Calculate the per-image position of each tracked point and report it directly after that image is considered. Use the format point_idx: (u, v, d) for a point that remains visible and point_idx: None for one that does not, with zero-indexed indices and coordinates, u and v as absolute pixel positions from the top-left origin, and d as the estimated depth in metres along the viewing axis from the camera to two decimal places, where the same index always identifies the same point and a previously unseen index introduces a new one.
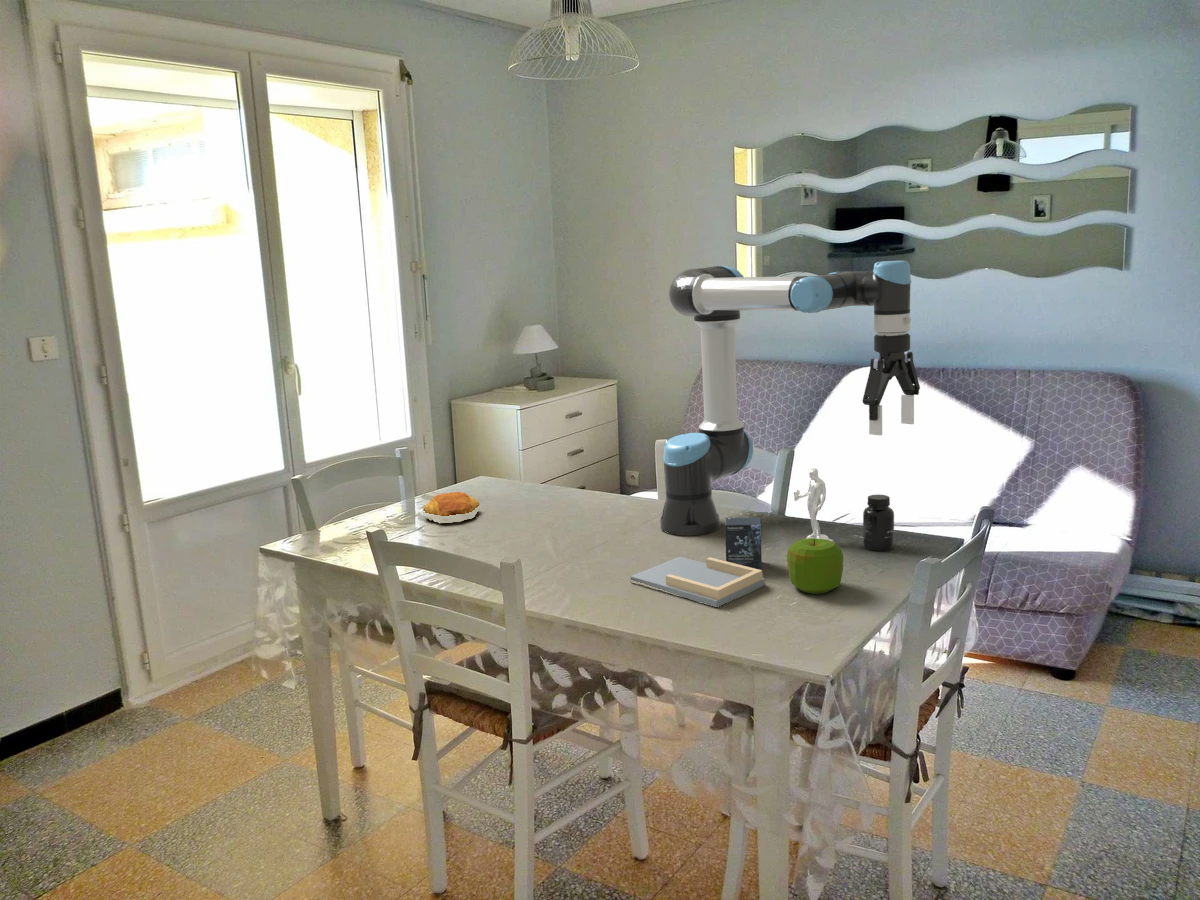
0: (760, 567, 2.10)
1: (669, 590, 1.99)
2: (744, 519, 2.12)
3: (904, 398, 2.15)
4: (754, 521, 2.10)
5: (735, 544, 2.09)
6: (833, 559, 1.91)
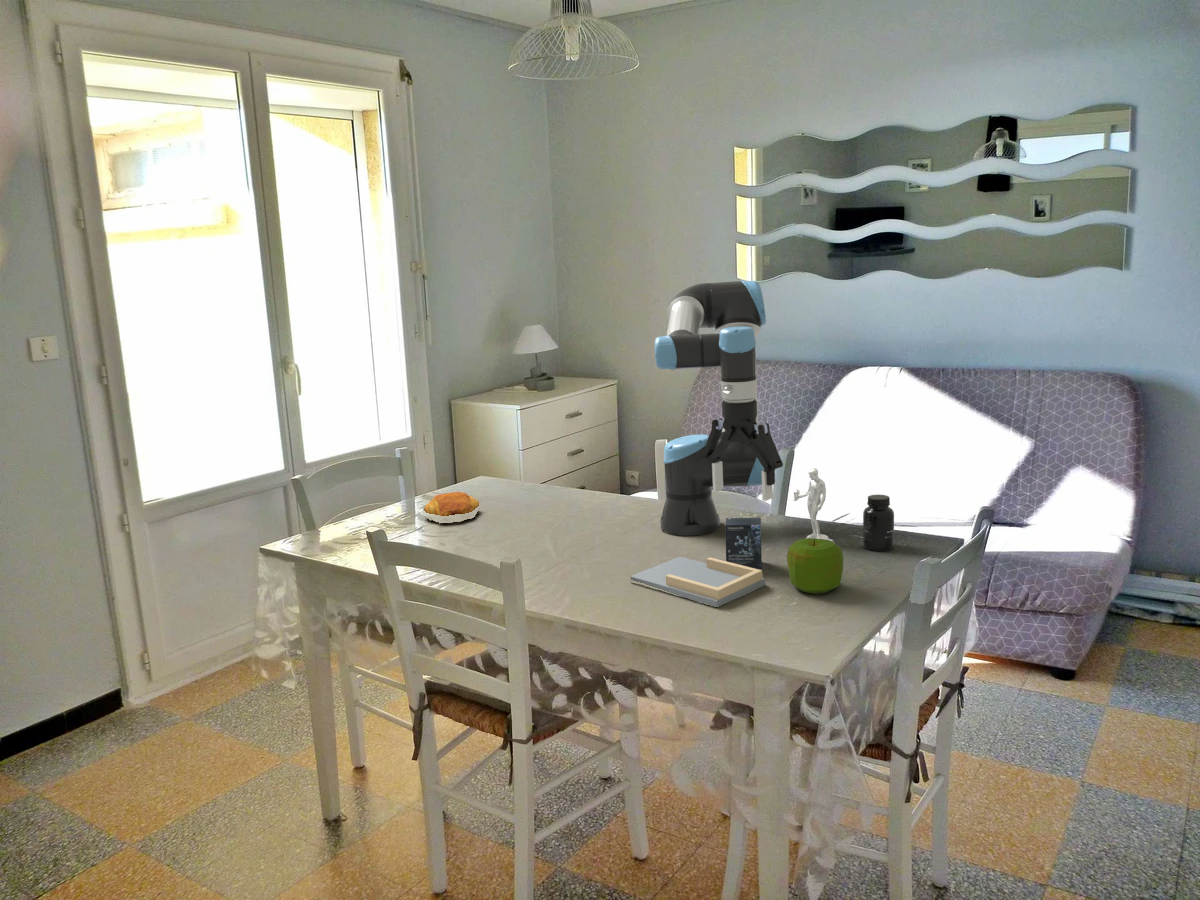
0: (760, 567, 2.10)
1: (669, 590, 1.99)
2: (744, 519, 2.12)
3: None
4: (754, 522, 2.10)
5: (735, 544, 2.09)
6: (833, 559, 1.91)
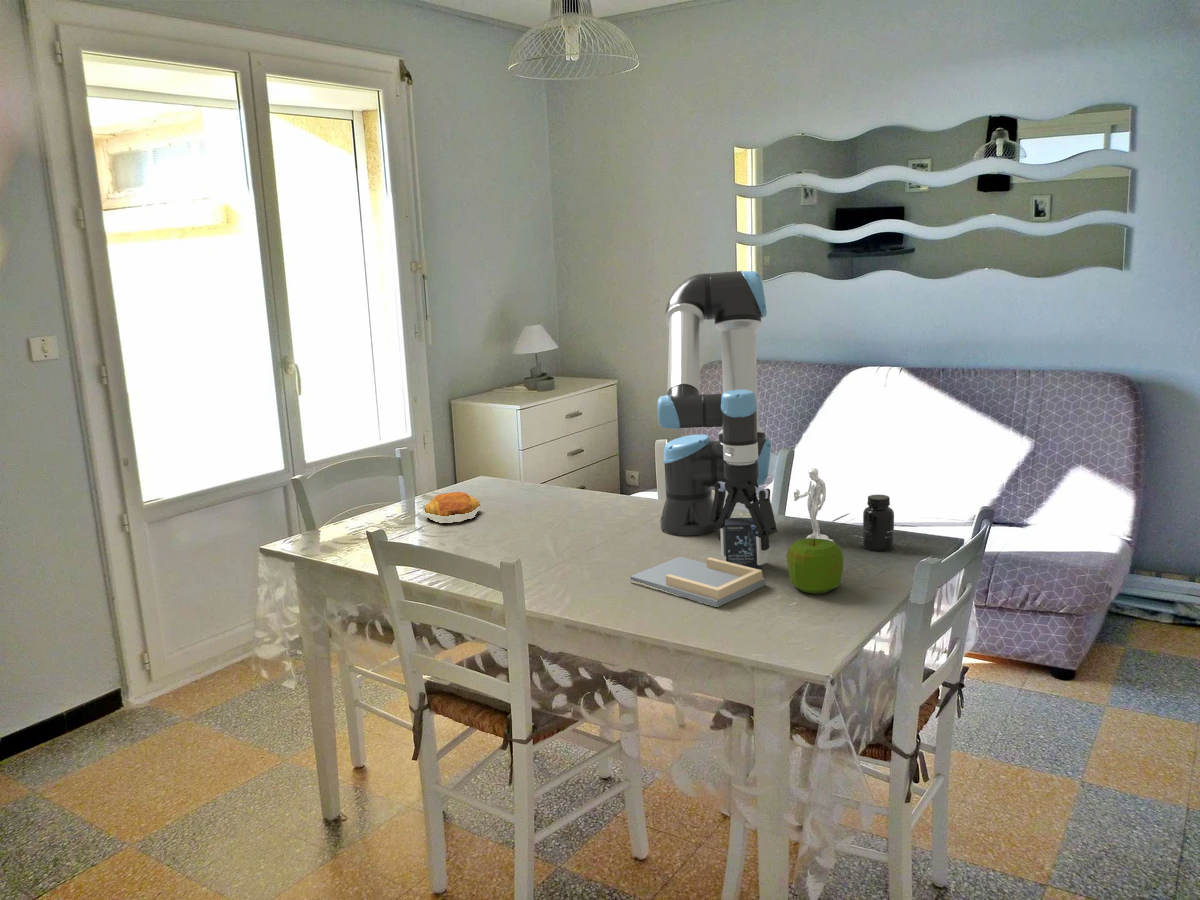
0: (760, 567, 2.10)
1: (669, 590, 1.99)
2: (744, 519, 2.12)
3: None
4: (753, 521, 2.10)
5: (735, 544, 2.09)
6: (833, 559, 1.91)
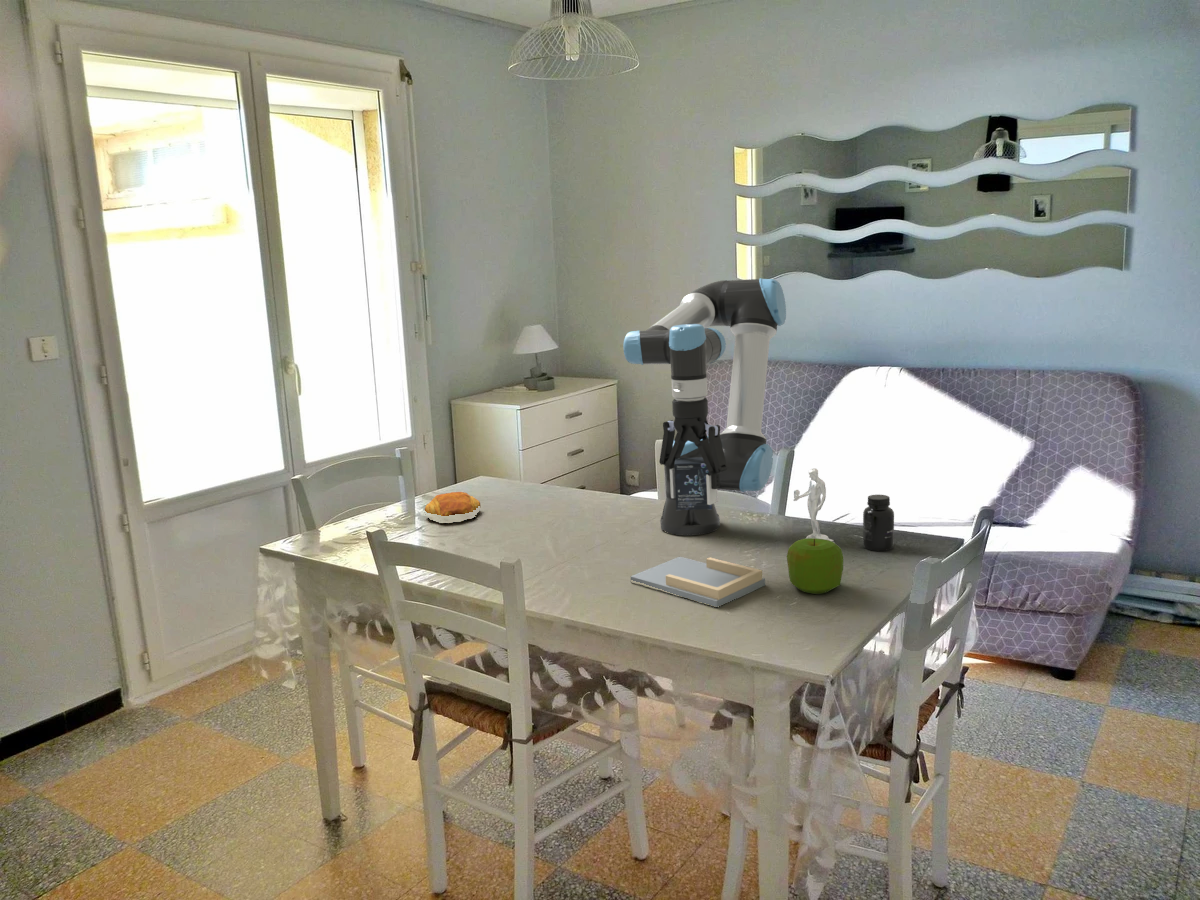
0: (710, 507, 2.04)
1: (669, 590, 1.99)
2: (694, 458, 2.06)
3: None
4: (703, 460, 2.04)
5: (684, 483, 2.04)
6: (833, 559, 1.91)
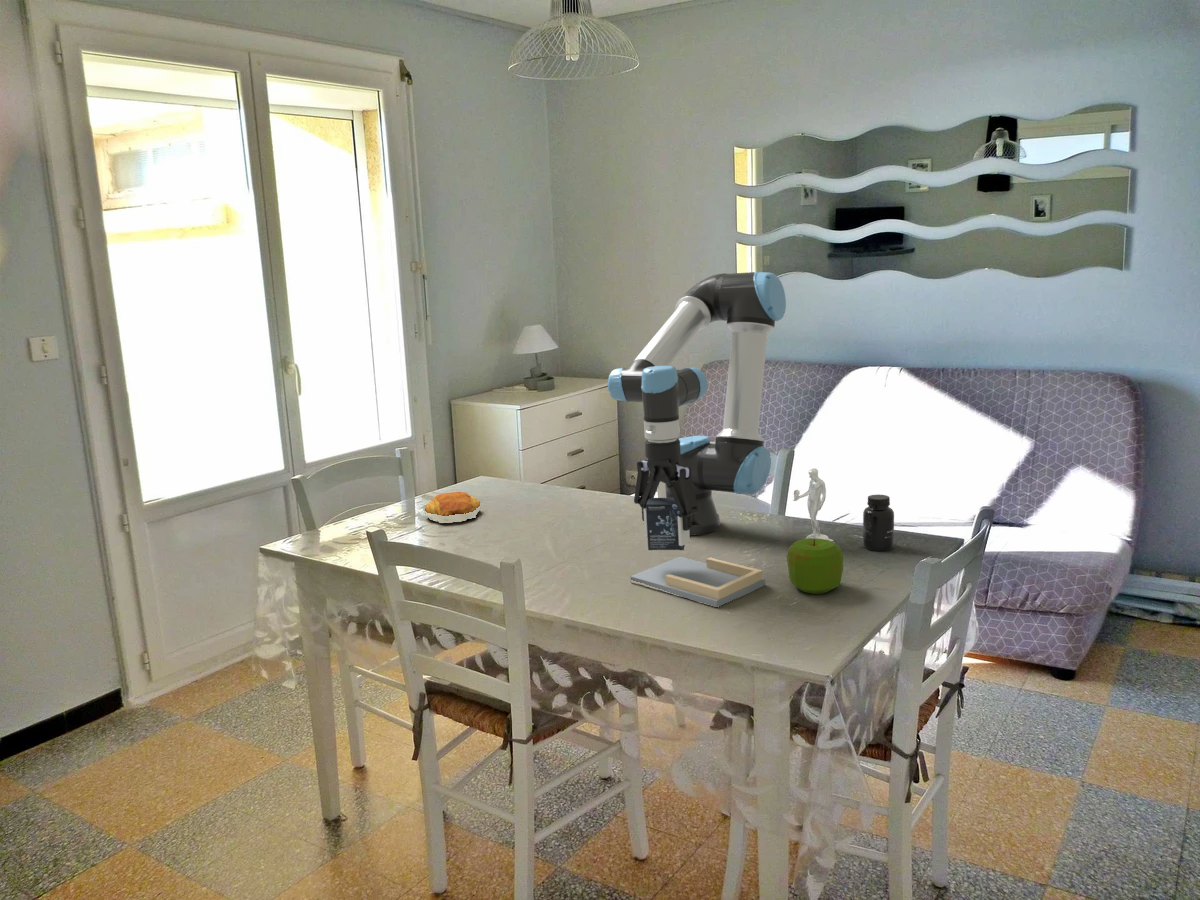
0: (682, 548, 2.05)
1: (669, 590, 1.99)
2: (667, 498, 2.07)
3: None
4: None
5: (656, 524, 2.04)
6: (833, 559, 1.91)
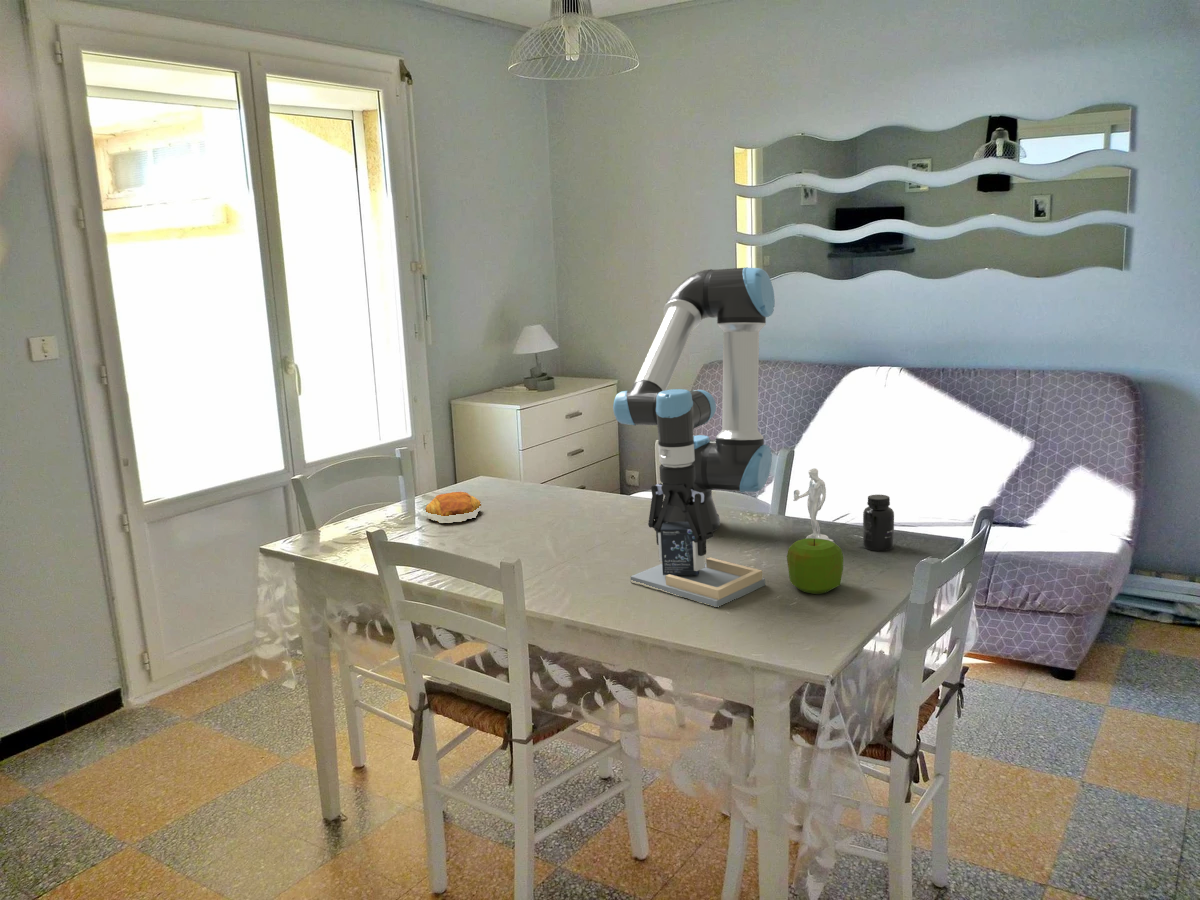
0: (697, 573, 2.03)
1: (669, 590, 1.99)
2: (682, 523, 2.05)
3: None
4: None
5: (671, 549, 2.02)
6: (833, 559, 1.91)
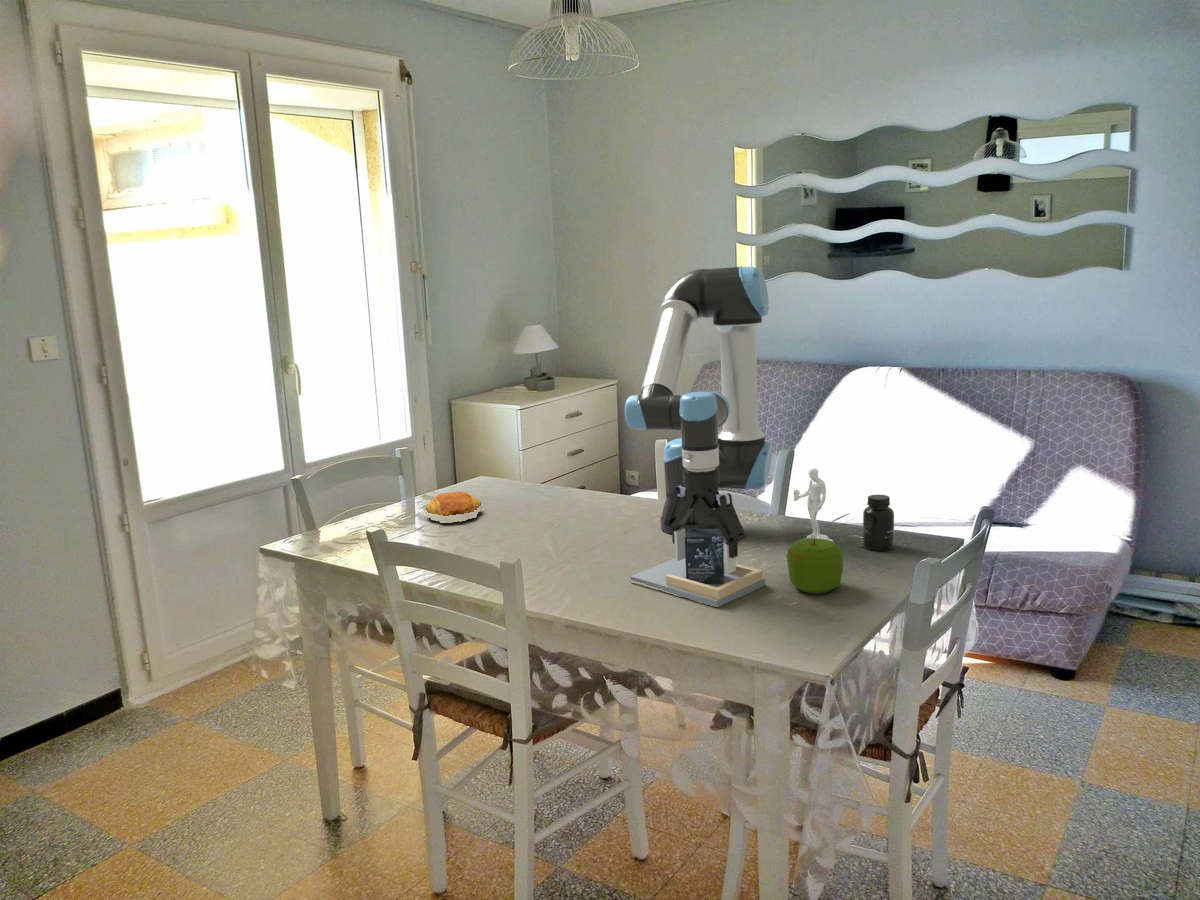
0: (722, 581, 1.98)
1: (669, 590, 1.99)
2: (705, 530, 2.00)
3: None
4: (715, 533, 1.98)
5: (695, 557, 1.98)
6: (833, 559, 1.91)
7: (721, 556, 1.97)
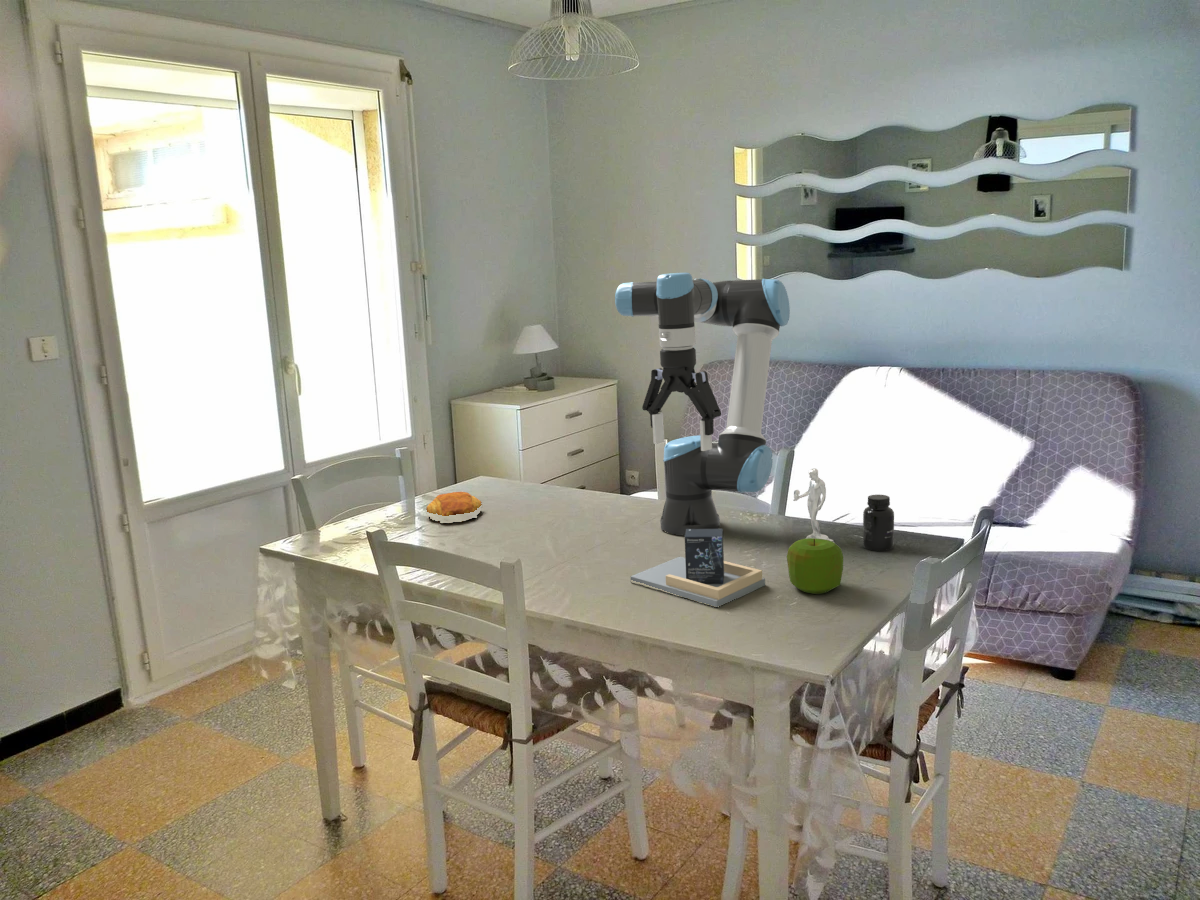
0: (722, 581, 1.98)
1: (669, 590, 1.99)
2: (705, 530, 2.00)
3: None
4: (715, 533, 1.98)
5: (695, 557, 1.98)
6: (833, 559, 1.91)
7: (721, 556, 1.97)
